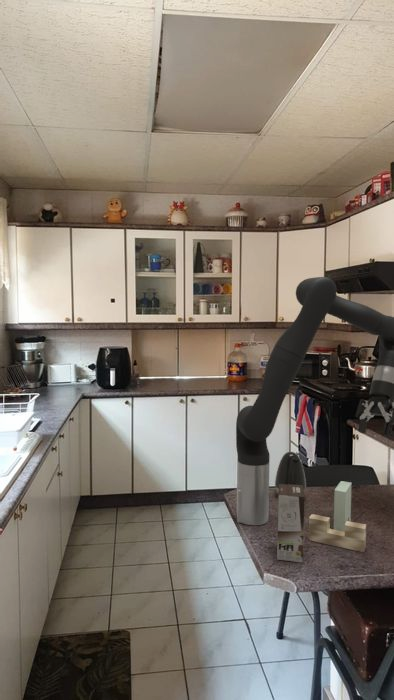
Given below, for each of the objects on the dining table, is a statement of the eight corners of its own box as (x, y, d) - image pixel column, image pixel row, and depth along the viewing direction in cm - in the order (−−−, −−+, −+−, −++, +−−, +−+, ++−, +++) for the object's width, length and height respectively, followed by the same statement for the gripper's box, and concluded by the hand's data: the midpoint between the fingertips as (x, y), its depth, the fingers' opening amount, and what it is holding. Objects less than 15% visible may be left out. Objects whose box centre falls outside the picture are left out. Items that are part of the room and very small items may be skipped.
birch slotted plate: (308, 540, 123) (309, 517, 123) (311, 535, 126) (311, 513, 126) (363, 552, 117) (364, 528, 117) (365, 547, 120) (366, 524, 119)
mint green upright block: (344, 535, 127) (345, 492, 126) (333, 533, 128) (334, 490, 127) (350, 523, 135) (351, 482, 134) (339, 521, 136) (340, 480, 135)
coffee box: (303, 563, 111) (305, 496, 110) (276, 560, 112) (277, 494, 112) (302, 546, 120) (304, 484, 119) (277, 543, 121) (278, 482, 121)
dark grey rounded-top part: (283, 503, 149) (284, 457, 149) (269, 492, 159) (270, 449, 159) (311, 500, 152) (312, 455, 152) (296, 490, 162) (297, 447, 162)
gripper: (358, 378, 146) (346, 428, 142) (398, 379, 134) (385, 433, 130) (373, 387, 149) (362, 435, 146) (413, 388, 137) (402, 441, 133)
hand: (373, 434), depth 138 cm, fingers open, 8 cm apart
